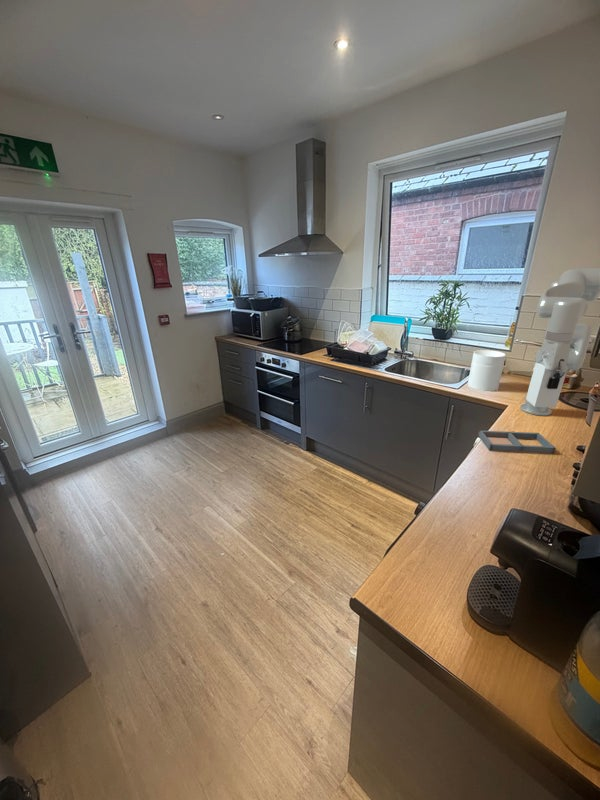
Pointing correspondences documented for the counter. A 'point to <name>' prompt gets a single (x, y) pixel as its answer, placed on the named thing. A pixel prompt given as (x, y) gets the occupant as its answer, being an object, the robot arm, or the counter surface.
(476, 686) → the counter surface
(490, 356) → the canister
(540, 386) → the milk carton
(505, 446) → the frame
